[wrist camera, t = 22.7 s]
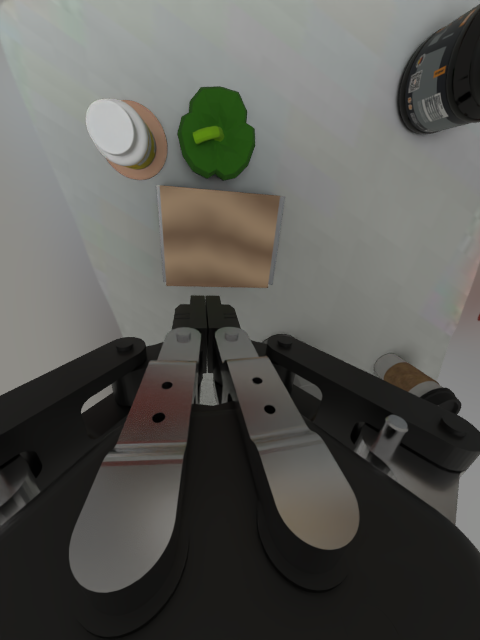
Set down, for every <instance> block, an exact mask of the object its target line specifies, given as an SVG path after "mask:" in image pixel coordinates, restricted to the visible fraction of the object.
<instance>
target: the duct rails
mask: <svg viewBox="0 0 480 640" xmlns="http://www.w3.org/2000/svg"><path fill="white" fill-rule="evenodd" d="M156 186H157V200H158V213H159V227H160V241H161V254H162V268H163V282H166V271H165V257H164V242H163V227H162V212H161V198H160V186H159V185H156ZM284 201H285V196H280V201H279V208H278V216H277V223H276V230H275V238H274V245H273V253H272V260H271V267H270V275H269V282H268V284H270V285H272V284H273V277H274V270H275V264H276V257H277V250H278V243H279V236H280V229H281V222H282V215H283V208H284Z"/></svg>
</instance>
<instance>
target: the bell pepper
mask: <svg viewBox="0 0 480 640" xmlns="http://www.w3.org/2000/svg"><path fill="white" fill-rule="evenodd" d="M246 119H247V110H246V108H245V105H244V103H243V101H242V99H241V97H240V94H239V92H236V91H233V90H230V89H227V88H223V87H201V88H200V89H199V90H198V92H197V93H196V94H195V95H194V97H193V98H192V99H191V101H190V105H189V113H187V114H186V115H184V116H182V118H181V122H180V126H179V130H178V133H177V134H178V138H179V142H180V147H181V151H182V155H183V157H184V159H185V160H186V162H187V163H188V165H189V166H190V168H191V170H192V171H193V172H195V173H197V174H199V175H201V176H203V177H205V178H207V179H208V178H209V177H211V176H213V175H214V174H215V175H216V176H218V177H219V178H220V179H222V180H228V179H233V178H236V177H237V176H238V175H239V174H240V173H241V172H242V171H243V170H244V169H245V168H246V167H247V166H248V163H249V161H250V158H251V155H252V153H253V150H254V147H255V129H254V128H253V127H251V126H250V125H248V124H246Z"/></svg>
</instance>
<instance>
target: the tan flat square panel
mask: <svg viewBox="0 0 480 640" xmlns="http://www.w3.org/2000/svg"><path fill="white" fill-rule="evenodd" d="M160 198H161V212H162V227H163V242H164V257H165V271H166V286H201V287H251V288H268V282H269V275H270V267H271V260H272V253H273V245H274V238H275V230H276V223H277V216H278V208H279V201H280V196H275V195H263V194H252V193H241V192H229V191H218V190H206V189H195V188H184V187H172V186H161V185H160Z"/></svg>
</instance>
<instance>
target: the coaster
mask: <svg viewBox="0 0 480 640" xmlns="http://www.w3.org/2000/svg"><path fill="white" fill-rule="evenodd" d="M121 101H123V102H125V103H127V104H128V105H130V106H131V107H132V108H133V109H134V110H135V111H136V112H137V113H138V114H139V115H140V117H141V118H142V119H143V121H144V122H145V123H146V124H147V126H148V127H149V128H150V130H151V131H152V133H153V136H154V138H155V142H156V155H155V158H154V160H153V162H152V163H151V164H150V165H149V166H148V167H146V168H144V169H140V170H136V169H131V168H128V167H124V166H121V165H118V164H115V163H113V162H111V161H110V160H108V159H107V158H106V159H107V160H108V162H109V163H110V164H111V165H112V167H113V168H114V169H116V170H117V171H118V172H119V173H121V174H122V175H124V176H126V177H128V178H132V179H136V180H145V179H149V178H151V177H153V176H155V175H156V174H157V173H159V172H160V170H161V169H162V167H163V166H164V163H165V161H166V157H167V141H166V136H165V133H164V131H163V128H162V126H161V124H160V123H159V121H158V120H157V118H156V117H155V116H154V115H153V113H152V112H151V111H149V110H148V109H147V108H146V107H144V106H143V105H141V104H139V103H137V102H134V101H129V100H121Z"/></svg>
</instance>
